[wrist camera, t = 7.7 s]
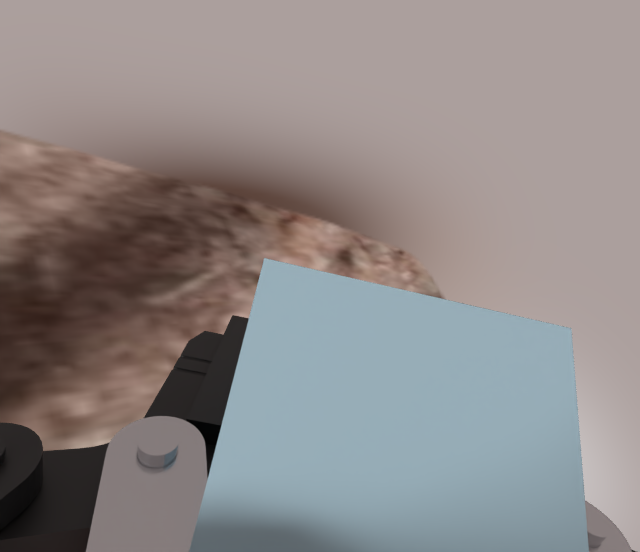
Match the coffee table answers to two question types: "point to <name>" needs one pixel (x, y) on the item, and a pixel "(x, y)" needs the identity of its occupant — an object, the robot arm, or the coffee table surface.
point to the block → (393, 426)
